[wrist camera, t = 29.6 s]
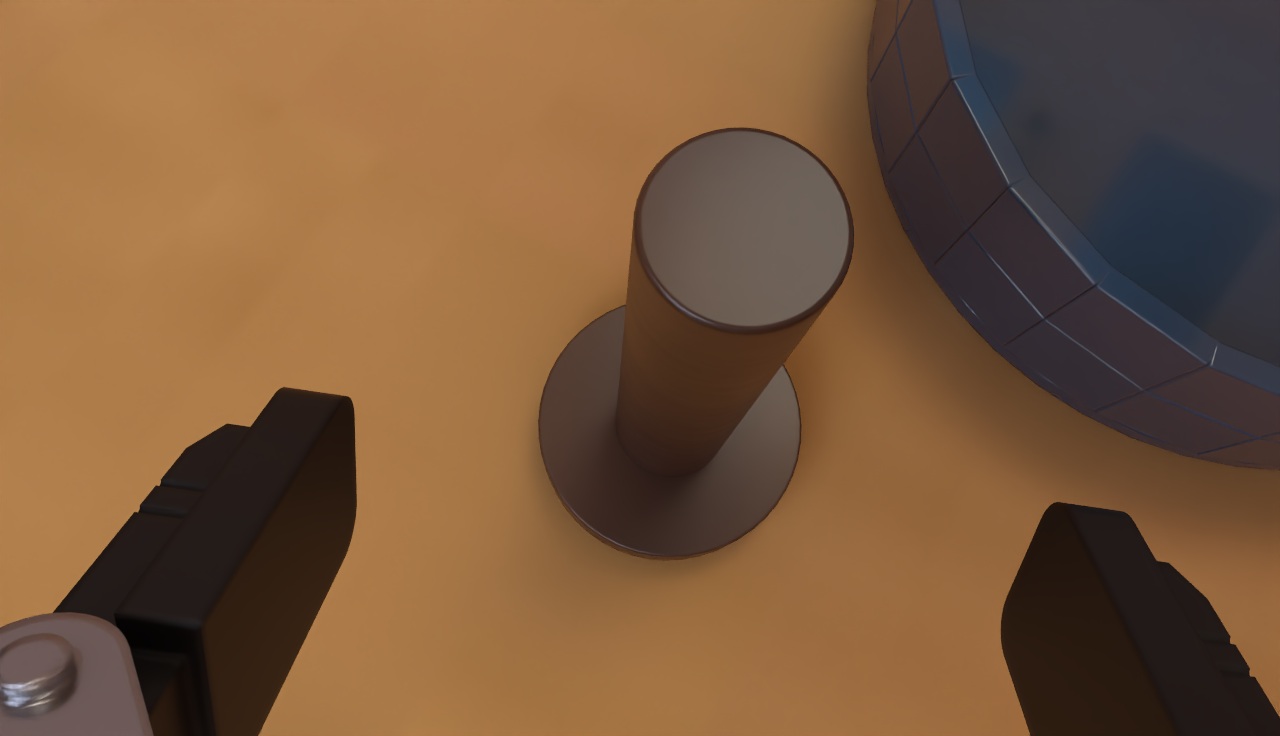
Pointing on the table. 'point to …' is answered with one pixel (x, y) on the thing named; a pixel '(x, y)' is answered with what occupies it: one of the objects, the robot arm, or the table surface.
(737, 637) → the table surface
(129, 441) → the table surface
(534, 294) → the table surface
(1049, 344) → the bowl
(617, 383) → the wall peg
